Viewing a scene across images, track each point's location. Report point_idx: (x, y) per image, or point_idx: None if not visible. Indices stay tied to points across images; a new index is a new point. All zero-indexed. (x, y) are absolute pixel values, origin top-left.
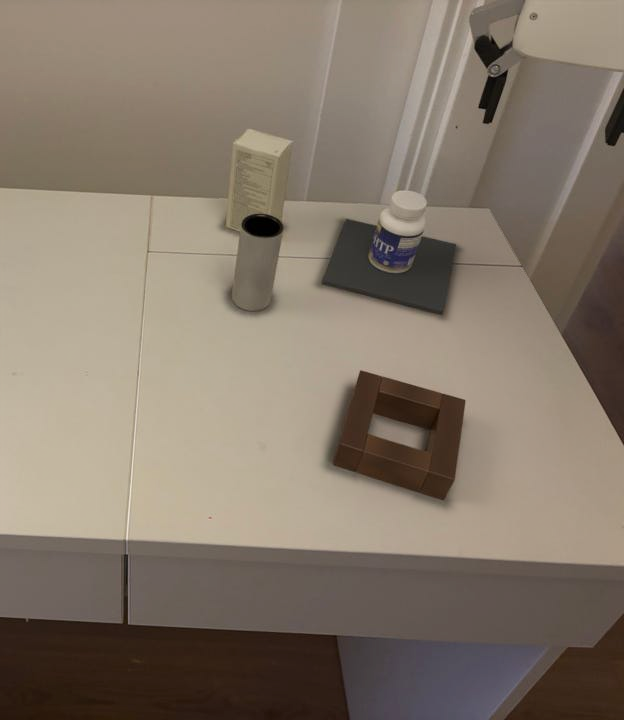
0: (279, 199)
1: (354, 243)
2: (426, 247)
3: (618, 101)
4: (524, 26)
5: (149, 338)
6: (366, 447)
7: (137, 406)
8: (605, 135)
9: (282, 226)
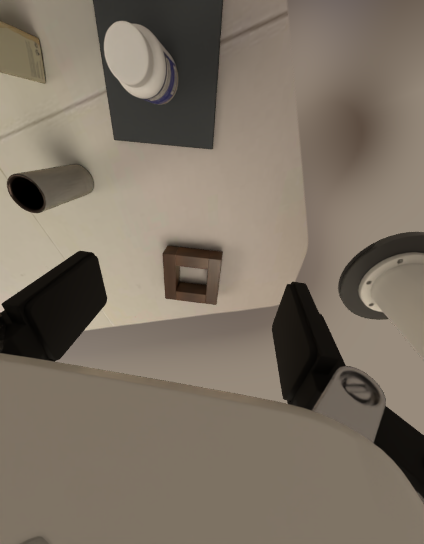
0: (4, 48)
1: None
2: (189, 21)
3: (297, 333)
4: None
5: (53, 236)
6: (177, 297)
7: None
8: (279, 306)
9: (40, 190)
